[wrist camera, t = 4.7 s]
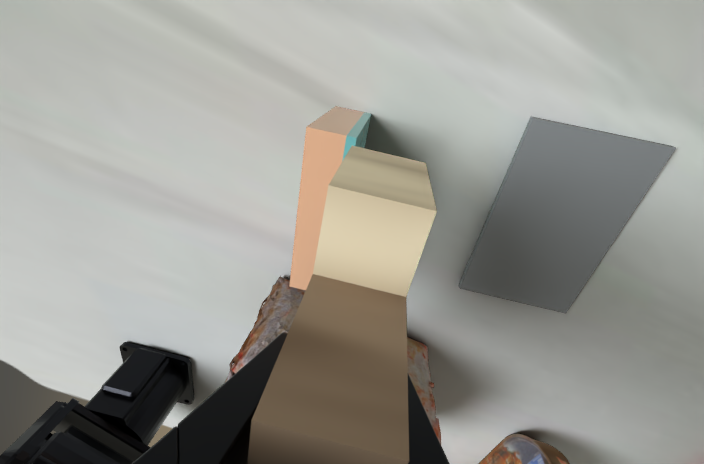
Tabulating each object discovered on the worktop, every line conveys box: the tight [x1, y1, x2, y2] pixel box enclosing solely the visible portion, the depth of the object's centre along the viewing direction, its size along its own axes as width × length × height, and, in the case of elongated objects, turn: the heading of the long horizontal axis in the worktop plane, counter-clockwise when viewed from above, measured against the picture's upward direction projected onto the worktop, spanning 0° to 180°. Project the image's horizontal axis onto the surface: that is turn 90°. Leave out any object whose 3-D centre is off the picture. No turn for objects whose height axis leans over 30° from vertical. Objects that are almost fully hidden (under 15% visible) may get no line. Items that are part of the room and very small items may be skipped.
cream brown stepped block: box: [248, 146, 437, 464], centre depth 10 cm, size 9×2×8 cm, turn 169°
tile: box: [289, 106, 371, 290], centre depth 17 cm, size 8×2×6 cm, turn 170°
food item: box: [224, 275, 441, 444], centre depth 22 cm, size 14×8×10 cm, turn 64°
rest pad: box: [459, 117, 676, 313], centre depth 19 cm, size 11×7×1 cm, turn 170°
